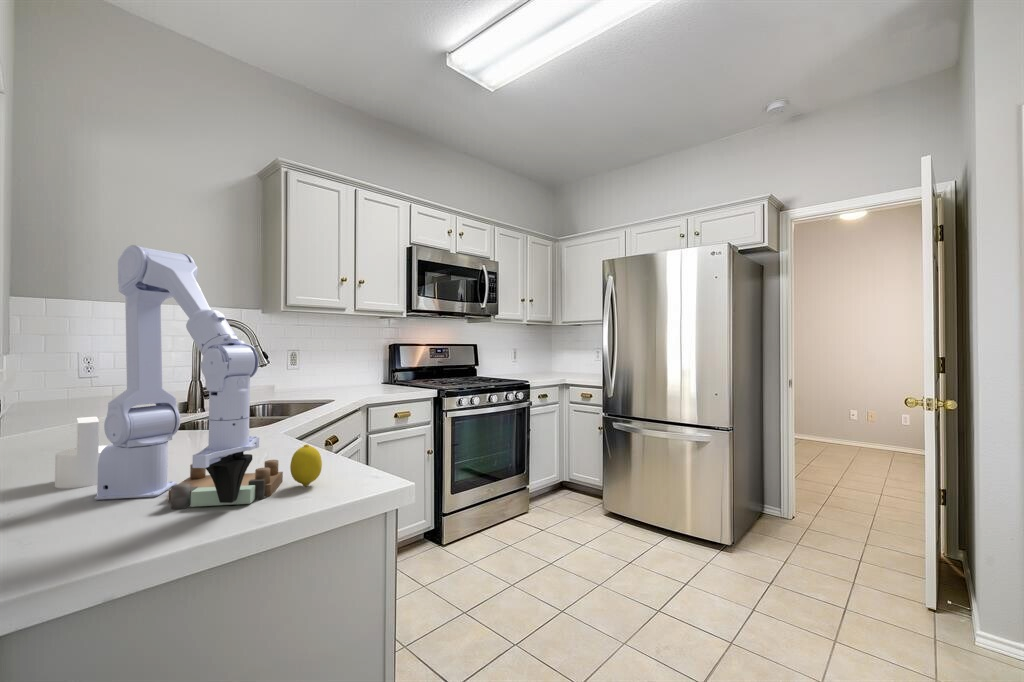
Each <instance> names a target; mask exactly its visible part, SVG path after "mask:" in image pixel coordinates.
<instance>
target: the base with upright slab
mask: <svg viewBox="0 0 1024 682" xmlns="http://www.w3.org/2000/svg"><path fill="white" fill-rule="evenodd" d="M106 446H107V445H100V420H99V418H98V416H85V417H77V418H76V447H75V448H70V449H64V450H60V451H57V452H56V453H54V487H55V488H58V487H59V488H58V489H77V488H85V487H92V486H97V484H98V460H99V456H100V454H101V452H102V450H103V449H104V448H105V447H106Z"/></svg>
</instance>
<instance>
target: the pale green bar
mask: <svg viewBox="0 0 1024 682" xmlns="http://www.w3.org/2000/svg"><path fill="white" fill-rule="evenodd" d="M254 499H255V485H245V486H240V490H239V494H238V497H237V500H236V501H234V502H232V503H220V501H219V498H218V495H217V491H216V488H215V487H201V488H196V489H195V490H193V491H192V492H191V505H190V507H191V508H192V507H207V506H208V507H210V506H224V505H225V506H226V505H227V506H228V505H247V504H250V505H251V503H253V501H255V500H254Z"/></svg>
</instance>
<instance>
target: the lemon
mask: <svg viewBox="0 0 1024 682" xmlns="http://www.w3.org/2000/svg"><path fill="white" fill-rule="evenodd" d="M322 467H323V461H322V456H321V453H320V451H319V450H318V449H317V448H315V447H314V446H310V445H309V444H304V445H303V446H302V447H300V448H298V449H297V450H295V452H294V453H293V454H292V457H291V460H290V467H289V469H290V473H291V476H292V479H293V480H294V481H295V482H297V483H298V484H301V485H302V486H303V487H308V486H309V485H310V484H311V483H313V482H315V481H316V480H317V479H318V478H319V476H320V475H321V472H322Z"/></svg>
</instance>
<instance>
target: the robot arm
mask: <svg viewBox="0 0 1024 682" xmlns="http://www.w3.org/2000/svg"><path fill="white" fill-rule="evenodd" d="M197 277H198V265H196V263H195V261H194V258H192V256H191V255H189V254H188V253H177V252H170V251H165V250H160V249H154V248H150V247H143V246H140V245H138V244H130V245H129V246H127V247H126V248H125V249H124V250H123V252H122V253H121V255H120V256H119V258H118V260H117V278H118V279H117V280H118V281H117V285H118V292H119V293H120V294H122V295H124V299H125V302H124V303H125V309H124V310H125V350H126V351H125V354H126V355H125V356H126V361H125V362H126V364H125V365H126V366H125V367H126V389H125V390H124V391H122V393H120V394H118V395H117V396H116V397H114V398H113V399H111V400H109V402H108V405H107V413H106V417H105V420H104V425H103V426H104V427H103V428H104V429H103V430H104V434H105V437H106V439H107V440H108V441H109V442H110V443H111V444H108V445H105V446H106V447H105V448H104V449H103V450H102V452H101V454H100V456H99V460H98V484H97V485H96V487H97V489H96V490H97V493H96V495H95V496H94V500H96V501H97V500H99V501H101V500H118V499H132V498H133V499H134V498H135V499H136V498H151V497H153V498H154V497H158V496H159V495H161V494H163V493H165V492H166V491H169V490H170V489H171V486H173V485H176V484H178V482H177V481H168V464H169V462H168V461H169V460H168V459H169V457H168V454H169V441H173V436H175V435H176V434H177V433H178V430H179V429H180V425H181V415H180V411H179V409H178V405H177V397H176V396H174V394H172V393H170V392H169V391H167V390H165V389H164V388H163V357H162V355H163V354H162V350H163V349H162V348H163V347H162V307H161V306H162V304H163V303H164V302H165V300H166V299H170V298H173V299H174V300H175V302H176V303H177V304H178V305H179V307H180V308H181V309H182V311H183V312H184V313H185V315H186V316H187V317H188V320H187V321H186V324H185V328H186V330H187V332H188V334H189V336H190V337H191V339H192V341H194V344H195V346H196V347H197V349H198V350H199V351H200V353H201V355H202V360H201V361H200V369H201V373H202V375H203V377H204V379H205V380H204V381H205V385H204V386H205V388H206V391H208V392H209V393H208V396H209V397H208V398H209V400H208V401H209V402H208V404H209V405H208V442H207V443H208V446H205V448H204V449H201V451H199V452H198V453H195V454H192V463H191V464H192V468H206V471H207V472H208V474H209V475H210V476H211V478H212V480H213V482H214V485H215V488H216V491H217V495H218V498H219V501H220V503H232V502H234V501H236V500H237V497H238V494H239V490H240V486H241V483H242V480H243V477H244V474H245V473H247V469H248V468H249V466H250V464H251V463H252V461H253V454H250V453H249V454H248V453H245V452H247V451H249V452H250V451H252V450H255V449H258V448H260V436H250V412H251V411H250V409H251V408H250V404H251V403H250V402H251V400H250V399H251V378H253V377H254V376H255V374H257V372H258V370H259V369H258V368H259V363H260V360H259V355H258V353H257V350H256V348H255V347H254V346H253V345H252V344H249V343H246V342H244V340H240V339H239V338H238V336H237V334H236V333H235V332H234V330H233V329H232V327H231V325H230V324H229V323H228V320H227V319H226V317H225V315H224V313H222V312H221V311H219V310H217V309H216V310H215V309H211V307H210V306H209V303H208V301H207V299H206V297H205V295H204V293H203V291H202V289H201V287H200V286H199V283H198V282H197V281H198V280H197ZM152 404H155V405H152ZM141 405H144V406H141ZM145 405H148V406H145ZM137 406H138V407H137Z"/></svg>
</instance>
